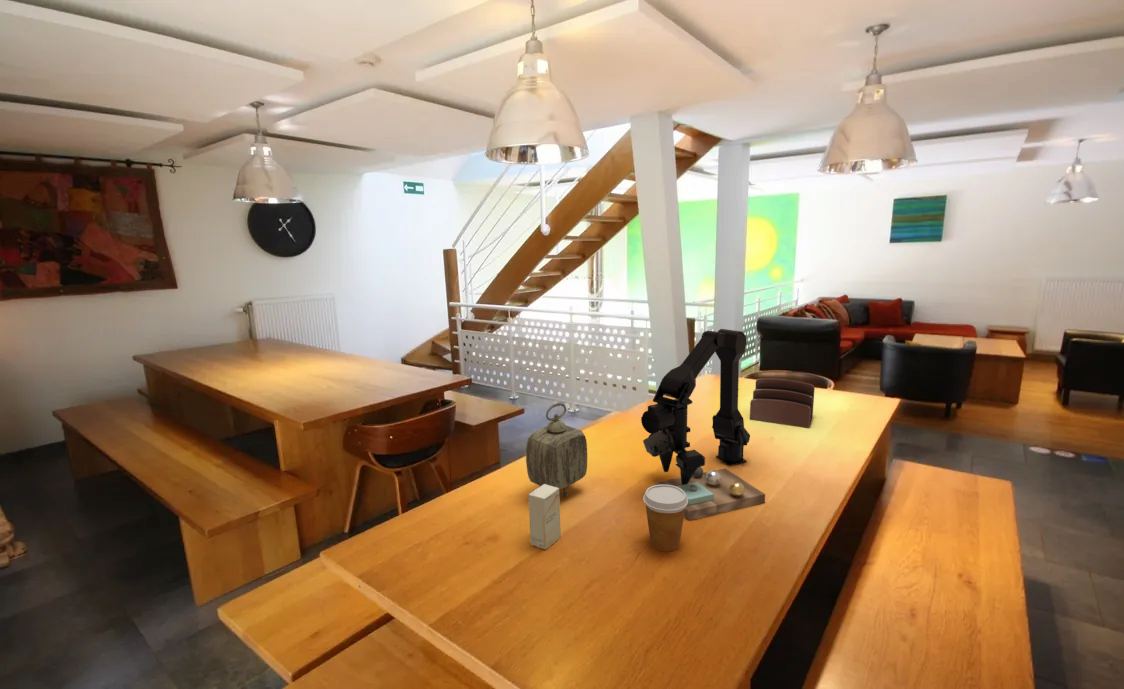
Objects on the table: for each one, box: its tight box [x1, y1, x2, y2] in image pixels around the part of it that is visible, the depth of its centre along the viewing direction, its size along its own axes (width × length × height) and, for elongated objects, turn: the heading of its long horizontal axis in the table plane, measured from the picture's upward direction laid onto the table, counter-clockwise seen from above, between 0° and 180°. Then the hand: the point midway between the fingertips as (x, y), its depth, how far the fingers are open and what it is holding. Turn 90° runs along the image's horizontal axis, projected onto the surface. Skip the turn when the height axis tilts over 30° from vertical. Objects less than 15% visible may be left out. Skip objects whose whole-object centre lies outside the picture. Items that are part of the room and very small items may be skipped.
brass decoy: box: [729, 482, 745, 497], centre depth 131 cm, size 4×4×4 cm
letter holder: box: [749, 377, 816, 429], centre depth 187 cm, size 10×20×14 cm, turn 60°
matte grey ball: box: [693, 466, 704, 477], centre depth 141 cm, size 3×3×3 cm
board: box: [654, 467, 766, 522], centre depth 136 cm, size 22×16×2 cm
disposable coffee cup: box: [642, 484, 688, 553], centre depth 115 cm, size 10×10×12 cm
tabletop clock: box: [525, 402, 588, 498], centre depth 137 cm, size 14×9×25 cm, turn 134°
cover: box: [676, 482, 714, 505], centre depth 131 cm, size 7×7×2 cm
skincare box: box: [527, 484, 562, 550], centre depth 117 cm, size 6×4×12 cm
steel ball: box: [705, 469, 721, 486], centre depth 136 cm, size 4×4×4 cm
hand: (674, 478), depth 139 cm, fingers open, 9 cm apart
